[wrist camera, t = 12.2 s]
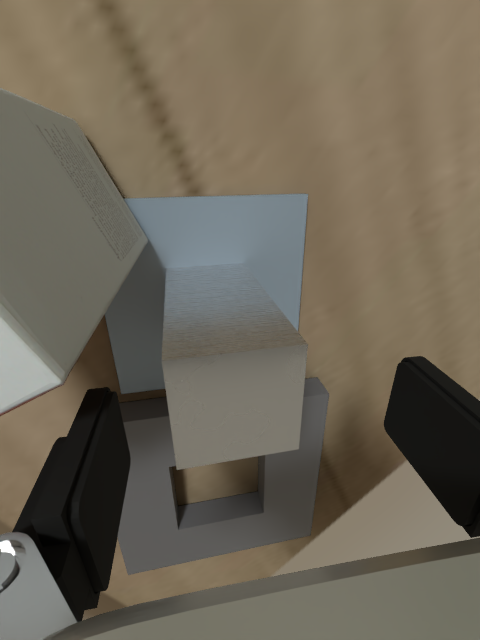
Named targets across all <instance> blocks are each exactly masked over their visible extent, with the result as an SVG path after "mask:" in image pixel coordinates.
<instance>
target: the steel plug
mask: <svg viewBox="0 0 480 640" xmlns="http://www.w3.org/2000/svg"><path fill="white" fill-rule="evenodd" d="M307 348H308V344H307V343H306V341H305V340H304V339H303V337H302V336H301V335H300V334H299V332H298V331H297V330H296V329H295V327H294V326H293V325H292V324H291V322H290V321H289V320H288V318H287V317H286V316H285V315H284V313H283V312H282V311H281V310H280V308H279V307H278V306H277V305H276V303H275V302H274V301H273V299H272V298H271V297H270V296H269V294H268V293H267V292H266V291H265V289H264V288H263V287H262V286H261V284H260V283H259V282H258V280H257V279H256V278H255V277H254V275H253V274H252V273H251V272H250V270H249V269H248V268H247V267H246V265H245V264H244V263H235V264H220V265H205V266H190V267H175V268H166V282H165V302H164V322H163V342H162V367H163V375H164V382H165V389H166V396H167V403H168V410H169V417H170V425H171V432H172V439H173V446H174V453H175V460H176V467H177V470H180V469H186V468H191V467H197V466H203V465H209V464H215V463H221V462H227V461H232V460H238V459H244V458H250V457H256V456H262V455H268V454H273V453H279V452H285V451H291V450H297V449H299V441H300V429H301V418H302V406H303V394H304V383H305V371H306V359H307Z"/></svg>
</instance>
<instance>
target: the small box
mask: <svg viewBox="0 0 480 640" xmlns="http://www.w3.org/2000/svg"><path fill="white" fill-rule="evenodd" d="M147 242H148V239H147V237H146V235H145V234H144V232H143V231H142V229H141V227H140V226H139V224H138V222H137V221H136V219H135V217H134V216H133V214H132V212H131V211H130V209H129V208H128V206H127V204H126V203H125V201H124V199H123V198H122V196H121V194H120V193H119V191H118V189H117V188H116V186H115V185H114V183H113V181H112V180H111V178H110V176H109V175H108V173H107V171H106V170H105V168H104V166H103V165H102V163H101V161H100V160H99V158H98V156H97V155H96V153H95V151H94V150H93V148H92V146H91V145H90V143H89V142H88V140H87V138H86V137H85V135H84V133H83V132H82V130H81V128H80V127H79V125H78V124H77V122H76V121H75V120H74V119H72V118H69V117H67V116H64V115H62V114H60V113H58V112H55V111H53V110H51V109H48V108H46V107H44V106H42V105H40V104H37V103H35V102H32V101H30V100H28V99H26V98H23V97H21V96H19V95H16V94H14V93H11V92H9V91H7V90H4V89H2V88H0V416H1V415H3V414H5V413H7V412H9V411H11V410H13V409H15V408H17V407H19V406H21V405H23V404H25V403H27V402H29V401H31V400H33V399H35V398H37V397H39V396H41V395H43V394H45V393H47V392H49V391H51V390H53V389H55V388H57V387H60V386H62V385H64V383H65V381H66V379H67V377H68V375H69V373H70V371H71V370H72V368H73V366H74V365H75V363H76V362H77V360H78V358H79V357H80V355H81V353H82V351H83V349H84V348H85V346H86V344H87V342H88V341H89V339H90V338H91V336H92V334H93V333H94V331H95V329H96V328H97V326H98V324H99V323H100V321H101V319H102V318H103V316H104V314H105V313H106V311H107V309H108V307H109V306H110V304H111V302H112V301H113V299H114V297H115V295H116V294H117V292H118V291H119V289H120V287H121V285H122V284H123V282H124V280H125V279H126V277H127V275H128V274H129V272H130V270H131V269H132V267H133V265H134V264H135V262H136V260H137V259H138V257H139V255H140V254H141V252H142V250H143V249H144V247H145V245H146V244H147Z"/></svg>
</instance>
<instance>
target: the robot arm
mask: <svg viewBox="0 0 480 640" xmlns="http://www.w3.org/2000/svg"><path fill="white" fill-rule="evenodd" d="M384 427H385V430H386V432H387V434H388V435H389V436H390V438H391V439H392V440H393V442H394V443H395V444H396V446H397V447H398V448H399V449H400V451H401V452H402V453H403V455H404V456H405V457H406V459H407V460H408V461H409V463H410V464H411V465H412V466H413V468H414V469H415V470H416V472H417V473H418V474H419V476H420V477H421V478H422V479H423V481H424V482H425V483H426V485H427V486H428V487H429V489H430V490H431V491H432V493H433V494H434V495H435V497H436V498H437V499H438V501H439V502H440V503H441V504H442V506H443V507H444V508H445V510H446V511H447V512H448V514H449V515H450V516H451V518H452V519H453V520H454V521H455V522H456V523H457V524H458V525H460V526H462V527H463V528H464V529H465V531H466V532H467V533H468V534H469V536H470V537H471V538H472V537H477V536H480V401H479V400H478V399H476V398H475V397H474V396H473V395H471V394H470V393H469V392H467V391H466V390H465V389H464V388H462V387H461V386H460V385H459V384H457V383H456V382H455V381H454V380H452V379H451V378H450V377H449V376H447V375H446V374H445V373H443V372H442V371H441V370H440V369H438V368H437V367H436V366H435V365H433V364H432V363H431V362H430V361H428V360H427V359H426V358H424V357H422V356H417V357H407V358H404V359H403V360H402V361H401V363H399V364H398V366H397V370H396V374H395V378H394V382H393V386H392V390H391V395H390V399H389V403H388V407H387V411H386V416H385V420H384ZM130 463H131V458H130V451H129V447H128V442H127V438H126V433H125V428H124V424H123V419H122V415H121V410H120V406H119V401H118V396H117V393H116V392H115V391H113V392H110V389H109V388H108V387H105V388H95V389H89V390H87V392H86V394H85V396H84V399H83V401H82V403H81V406H80V408H79V410H78V412H77V415H76V417H75V419H74V421H73V424H72V426H71V428H70V431H69V433H68V435H67V437H60V438H58V439H57V440H56V442H55V443H54V445H53V447H52V449H51V451H50V453H49V456H48V458H47V460H46V462H45V464H44V466H43V468H42V470H41V472H40V475H39V477H38V479H37V481H36V483H35V485H34V487H33V489H32V491H31V494H30V496H29V498H28V500H27V502H26V504H25V506H24V508H23V510H22V513H21V515H20V517H19V519H18V521H17V523H16V525H15V527H14V529H13V532H11V533H5V534H3V535H0V640H480V538H476V539H470V540H465V541H459V542H454V543H448V544H443V545H437V546H432V547H426V548H421V549H416V550H410V551H405V552H399V553H394V554H389V555H384V556H379V557H373V558H368V559H362V560H357V561H352V562H346V563H341V564H336V565H330V566H325V567H320V568H314V569H309V570H304V571H299V572H294V573H289V574H283V575H278V576H274V577H268V578H263V579H258V580H252V581H247V582H242V583H237V584H232V585H227V586H222V587H216V588H211V589H206V590H202V591H197V592H192V593H188V594H183V595H178V596H174V597H169V598H164V599H160V600H155V601H150V602H146V603H141V604H137V605H133V606H129V607H125V608H122V609H118V610H115V611H111V612H107V613H103V614H100V615H97V616H94V617H92V618H89V619H86V620H83V621H82V618H83V614H84V610H88V609H93V608H97V605H98V600H99V595H100V591H105V590H107V588H108V585H109V580H110V575H111V569H112V564H113V558H114V553H115V547H116V542H117V536H118V531H119V525H120V520H121V514H122V509H123V503H124V498H125V492H126V487H127V481H128V476H129V471H130Z"/></svg>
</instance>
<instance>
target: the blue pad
mask: <svg viewBox="0 0 480 640" xmlns="http://www.w3.org/2000/svg"><path fill="white" fill-rule="evenodd" d="M123 199H124V201H125V203H126V204H127V206H128V208H129V209H130V211H131V212H132V214H133V216H134V217H135V219H136V221H137V222H138V224H139V226H140V227H141V229H142V231H143V232H144V234H145V235H146V237H147V239H148V242H147V244H146V245H145V247H144V249H143V250H142V252H141V254H140V255H139V257H138V259H137V260H136V262H135V264H134V265H133V267H132V269H131V270H130V272H129V274H128V275H127V277H126V279H125V280H124V282H123V284H122V285H121V287H120V289H119V291H118V292H117V294H116V295H115V297H114V299H113V301H112V302H111V304H110V306H109V307H108V309H107V311H106V313H105V318H106V323H107V328H108V332H109V337H110V342H111V347H112V352H113V356H114V361H115V366H116V371H117V376H118V380H119V385H120V390H121V394H126V393H134V392H142V391H150V390H158V389H165V382H164V375H163V367H162V342H163V322H164V302H165V282H166V268H175V267H190V266H205V265H220V264H235V263H244V264H245V265H246V267H247V268H248V269H249V270H250V272H251V273H252V274H253V275H254V277H255V278H256V279H257V280H258V282H259V283H260V284H261V286H262V287H263V288H264V289H265V291H266V292H267V293H268V294H269V296H270V297H271V298H272V299H273V301H274V302H275V303H276V305H277V306H278V307H279V308H280V310H281V311H282V312H283V313H284V315H285V316H286V317H287V318H288V320H289V321H290V322H291V324H292V325H293V326H294V327H295V329H296V330H297V331H298V324H299V310H300V297H301V283H302V269H303V256H304V242H305V228H306V215H307V201H308V194H274V195H237V196H199V197H161V198H123Z"/></svg>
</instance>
